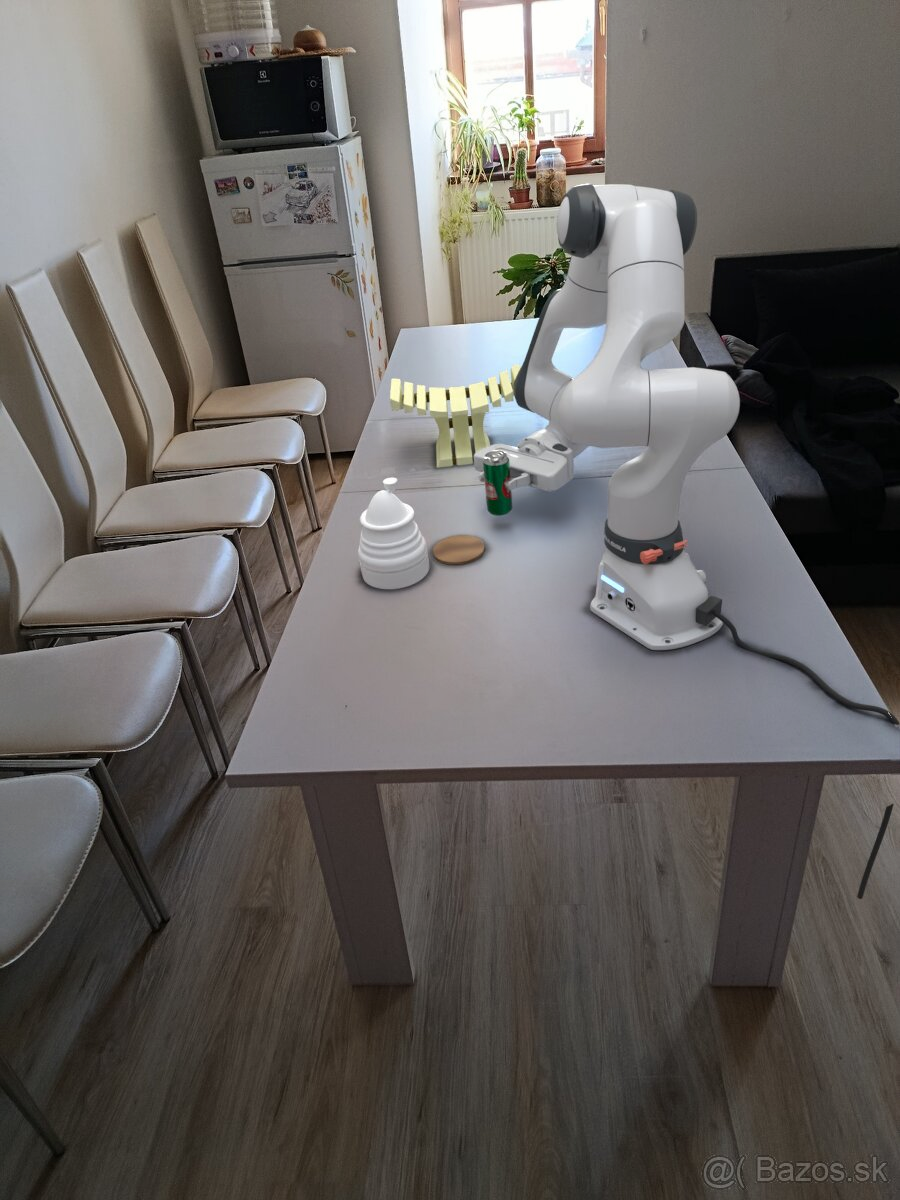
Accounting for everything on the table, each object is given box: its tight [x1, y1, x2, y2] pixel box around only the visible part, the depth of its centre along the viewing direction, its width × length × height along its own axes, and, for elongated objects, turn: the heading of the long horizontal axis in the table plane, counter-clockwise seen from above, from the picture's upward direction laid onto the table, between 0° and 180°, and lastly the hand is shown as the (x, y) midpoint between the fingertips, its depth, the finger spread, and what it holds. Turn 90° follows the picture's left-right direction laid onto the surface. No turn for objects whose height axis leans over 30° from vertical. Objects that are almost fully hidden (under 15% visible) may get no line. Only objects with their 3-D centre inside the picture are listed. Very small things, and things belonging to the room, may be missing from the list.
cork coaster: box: [432, 534, 485, 566], centre depth 153 cm, size 10×10×1 cm
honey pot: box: [357, 477, 430, 590], centre depth 145 cm, size 13×13×18 cm
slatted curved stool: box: [389, 363, 521, 469], centre depth 186 cm, size 30×16×18 cm, turn 92°
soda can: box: [483, 451, 513, 517], centre depth 154 cm, size 5×5×12 cm
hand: (494, 482), depth 153 cm, fingers closed on soda can, 5 cm apart
